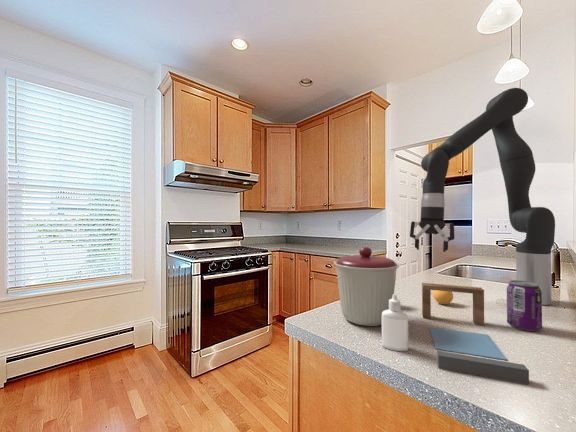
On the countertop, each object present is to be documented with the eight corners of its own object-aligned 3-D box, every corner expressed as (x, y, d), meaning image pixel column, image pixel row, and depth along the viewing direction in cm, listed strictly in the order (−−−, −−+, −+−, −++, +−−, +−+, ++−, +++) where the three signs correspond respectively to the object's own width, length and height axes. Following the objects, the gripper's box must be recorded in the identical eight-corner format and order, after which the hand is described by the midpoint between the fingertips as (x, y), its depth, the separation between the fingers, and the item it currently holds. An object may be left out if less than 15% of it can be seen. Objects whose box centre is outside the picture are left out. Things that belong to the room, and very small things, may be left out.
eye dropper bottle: (401, 355, 58) (401, 299, 58) (378, 345, 62) (378, 293, 62) (411, 349, 60) (411, 295, 61) (388, 340, 65) (388, 290, 65)
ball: (432, 300, 97) (432, 283, 97) (451, 302, 94) (451, 285, 94) (434, 305, 91) (434, 287, 91) (454, 307, 89) (454, 289, 89)
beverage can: (549, 334, 68) (548, 286, 68) (517, 332, 70) (516, 285, 70) (530, 323, 75) (529, 280, 75) (501, 321, 77) (501, 279, 77)
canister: (367, 338, 66) (366, 252, 66) (321, 315, 81) (321, 245, 82) (413, 324, 75) (413, 248, 75) (364, 306, 91) (364, 243, 91)
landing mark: (429, 327, 72) (429, 326, 72) (487, 335, 68) (487, 334, 68) (435, 349, 60) (435, 348, 60) (507, 360, 55) (507, 359, 55)
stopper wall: (437, 363, 55) (437, 350, 55) (524, 378, 49) (524, 364, 49) (438, 368, 53) (438, 355, 53) (529, 384, 47) (528, 370, 47)
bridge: (422, 314, 82) (422, 282, 82) (481, 321, 76) (480, 287, 77) (423, 318, 79) (422, 285, 79) (484, 325, 74) (484, 290, 74)
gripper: (454, 207, 99) (452, 251, 99) (411, 206, 105) (409, 248, 105) (456, 206, 92) (454, 253, 92) (410, 205, 98) (408, 249, 98)
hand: (430, 250), depth 98 cm, fingers open, 8 cm apart
